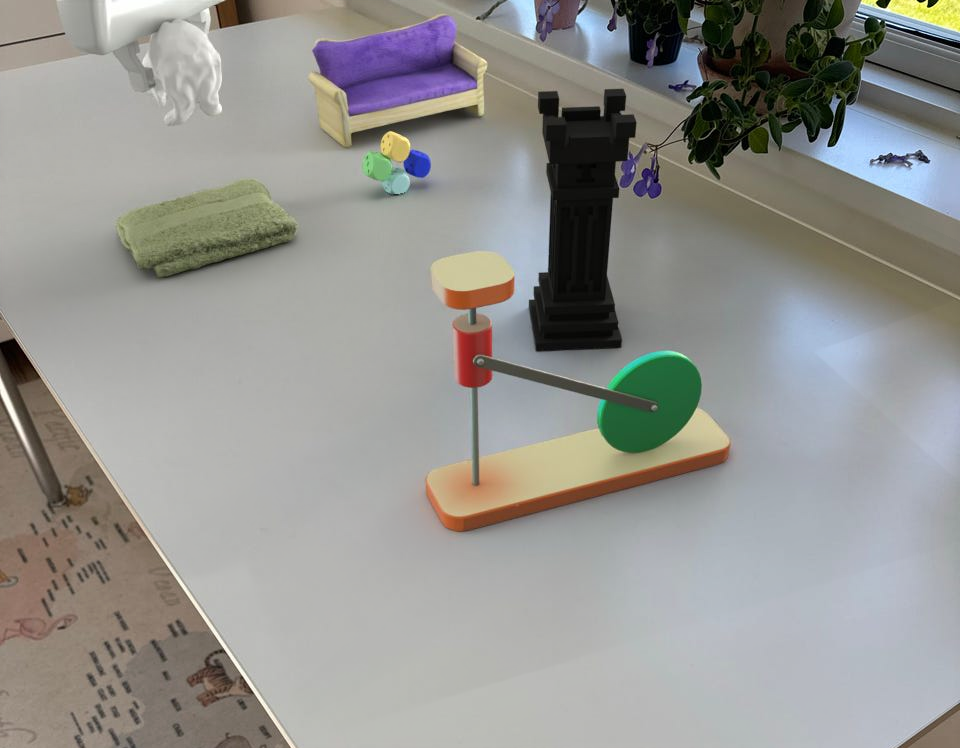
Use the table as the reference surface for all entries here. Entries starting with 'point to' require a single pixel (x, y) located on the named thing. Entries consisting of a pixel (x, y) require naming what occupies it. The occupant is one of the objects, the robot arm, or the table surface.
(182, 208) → the washcloth
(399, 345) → the table surface
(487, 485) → the crank mechanism
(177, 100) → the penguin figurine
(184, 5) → the robot arm
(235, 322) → the table surface
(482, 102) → the toy sofa
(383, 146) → the dice
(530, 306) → the chess piece
